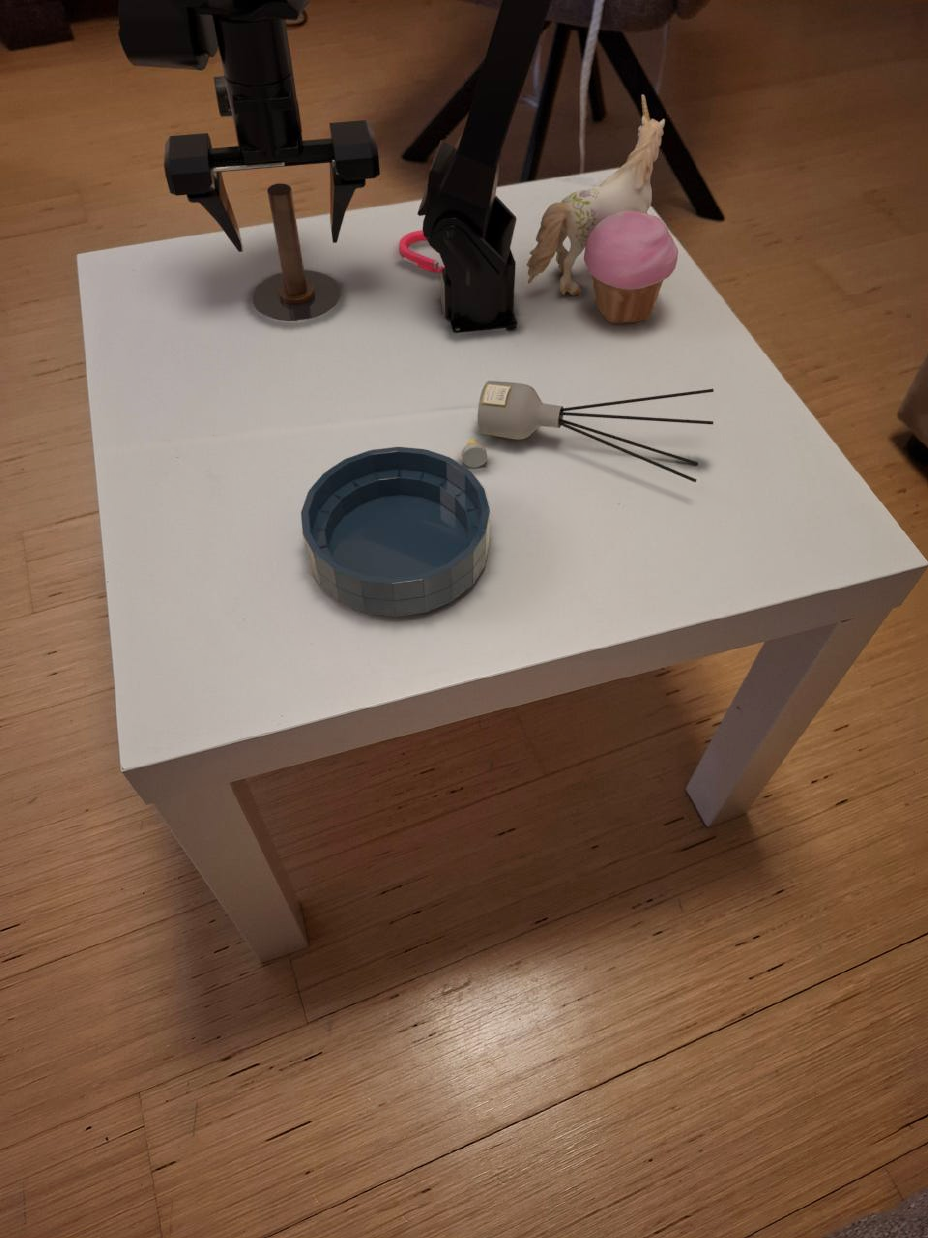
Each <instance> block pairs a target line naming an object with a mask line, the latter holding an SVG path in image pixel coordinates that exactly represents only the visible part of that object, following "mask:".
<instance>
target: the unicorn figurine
mask: <svg viewBox="0 0 928 1238" xmlns="http://www.w3.org/2000/svg"><path fill="white" fill-rule="evenodd" d="M640 96H641V109H642V111H641V112H642V116H641V125H639V126H638V129H637V131H638V132H637V143H636V145H635V148H634V149H633V150H632V151H631V152H630V154H629V155H628V157H627V160H626V162H625V163H624V164H622V165H621V166H620V167H619V168H618V169H617V170H616V171H615V172H614V173H612V174H611V175H609V176H608V177H606V179H604V180H603V181H602V182H601V183H600V184H599V186H598V187H597V186H596V187H592V188H587V189H581V190H577V191H574V192H572V193H570V194H568V195H567V196H565V198H563V199H562V200H561V201H559V202H554V203H552V204H550V205H549V206H548V207H547V208H546V210H545V211H544V213H543V215H542V216H541V221H540V227H539V229H538V231H537V234H536V236H535V241H536V243H537V245H536V246H535V247H534V248H532V249H531V250H529V253H528V254H529V255H530V257H529V259H528V260H527V262H526V267H527V268H528V270H527V276H528V279H527V284H529V285H530V284H531V283H532V282H533V281H534V279H535V278H536V277H537V276H539V275H540V274H542V273H544V272H545V271H546V270H547V268H548V267H549V265H550V264H551V261H552V259H553V258H554V257H555V262H556V263H557V269H559V270H560V272H562V273H563V274H562V275H561V276H560V278H559V291H560V292H561V295H565V294H566V292H567V293H569V294H570V296H572V297H575V296H578V295H580V294H581V287H580V286H579V285H578V283H576V282H574V281H573V278H572V268H573V266H574V264H575V263H576V260H577V258H578V257H579V256H580V255H581V254H582V253H583V251H584V250H585V246H586V242H587V239H588V237H589V235H590V233H591V232H592V230H593V229H594V228H595V226H596V225H597V224H598V223H599V222H601V221H602V220H603V219H605V218H606V217H608V216H610V215H613V214H616V213H618V212H621V211H626V210H631V211H638V212H642V213H646V214H649V213H648V211H649V209H650V208H651V205H652V201H653V198H652V197H653V191H652V186H651V176H652V173H653V170H654V166H653V165H654V162H656V161H657V159H658V158H659V152H660V147H661V145H662V136H664V133H665V132H664V127H665V123H666V119H665V118H662V119H661V120H660V121H658V120H656V119H654V118H651V117H650V113H649V109H648V105H647V100H646V99H647V98H646V95H645V94H641V95H640ZM566 238H568V239H569V243H570V247H569V250H567V248H566V246H565V245H564V241H565V240H566Z"/></svg>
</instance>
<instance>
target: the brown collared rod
mask: <svg viewBox="0 0 928 1238" xmlns="http://www.w3.org/2000/svg"><path fill="white" fill-rule="evenodd" d="M266 191H267V192H266V193H267V197H268V203H269V209H270V213H271V220H272V224H273V225H272V226H273V231H274V235H275V236H274V237H275V241H276V246H277V253H278V257H279V258H278V259H279V264H280V269H281V273H282V275H283V280H284V283H283V284H282V285H281V286H280V288H279V291H278V292H279V297H280V299H281V300H282V301H283V302H285V303H287V304H292V305H298V304H303V303H306V302H308V301H310V300H311V299H312V298H313V297H314V294H315V292H314V286H313V285H312V284H311V283H310V282H308V281H306V279H305V273H304V270H305V267H304V261H303V254H302V247H301V243H300V236H299V229H298V223H297V217H296V210H295V204H294V197H293V191H292V187H291V186H290V185H289V184H287V183H279V182H278V183H274V184H272V185H269V187H267V190H266Z"/></svg>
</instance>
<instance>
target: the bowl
mask: <svg viewBox="0 0 928 1238" xmlns="http://www.w3.org/2000/svg"><path fill="white" fill-rule="evenodd" d="M306 494H307V495H306V497H305V500H304V502H303V505H302V508H301V511H300V519H301V520H300V521H301V531H302V537H303V540H304V542H303V543H304V546H305V551H306V557H307V561H308V565H309V568H310V570H311V572H312V574H313V576H314V578H315V579H316V581H317V583H318V584H319V586H320V588H321V589H323V590H324V591H325V592H326V593H327V594H328V595H330V596H331V597H332V598H333V599H335V600H336V601H337V602H338V603H340V604H341V605H344V606H346V607H349V608H352V609H354V610H356V611H358V612H361V613H364V614H366V615H373V616H384V617H393V618H395V617H396V618H397V617H398V618H399V617H406V616H413V615H420V614H421V615H422V614H426V613H429V612H431V611H434V610H436V609H438V608H441V607H443V606H446V605H448V604H450V603H453V601H455V600H456V599H457V598H459V597H460V596H461V595H462V594H463V593H465V592H466V591H467V590H469V589H470V588H471V587H472V586H473V585H474V584H475V583H476V581H477V580H478V579H479V576H480V575H481V573H482V572H483V570H484V568H485V567H486V564H487V559H488V552H489V546H490V532H491V531H490V525H491V520H490V519H491V509H490V505H489V501H488V496H487V492H486V490H485V488H484V486H483V485H482V483H481V482H480V481H479V480H478V478H477V477H476V476H475V475H474V473H473V471H471V470H469V469H468V468H467V467H465V466H464V465H463V464H461V463H459V462H458V461H456V460H455V459H453V458H452V457H450V456H448V455H444V454H441V453H438V452H435V451H432V450H429V449H425V448H419V447H417V448H416V447H407V446H406V447H405V446H392V447H383V448H376V449H369V450H366V451H364V452H361V453H358V454H355V455H352V456H349V457H347V458H344V459H342V460H341V461H339V462H338V463H337V464H335V465H333V466H332V467H330V468H329V469H327V470H326V471H324V472H323V473H322V474H321V475H320V477H319V478H318V479H317V480H316V481H315V483H313V485H312V486H311V487H310V488H309V490H308V492H307V493H306Z"/></svg>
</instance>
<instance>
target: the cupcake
mask: <svg viewBox="0 0 928 1238" xmlns="http://www.w3.org/2000/svg"><path fill="white" fill-rule="evenodd" d="M583 251H584V253H583V261H584V264H585V266H586V268H587V270H588V273H589V274H590V275H591V278H592V279H591V280H592V286H593V287H592V288H593V294H594V303H595V306H596V307H597V308H598V309H599V310H600V313H601V314H602V316H603V317H604V318H605V319H606V321H607V322H609V323H612V324H625V323H627V324H628V323H636V322H637V323H638V322H643V321H647V320H648V319H649V317H650V316H651V314H652V312H653V310H654V308H655V305H656V303H657V300H658V298H659V294H660V292H661V288H662V285H663V282H664V281H665V280H667V279H668V278H669V277H670V276H671V275H672V274H673V272H674V271H675V269H676V267H677V263H678V259H679V249H678V246H677V244H676V242H675V240H674V239H673V236H672V235H671V233H670V232H669V229H668V226H667V224H666V223H664V221H663V220H662V219H661V218H660V217H658V216H656V215H653V214H649V213H648V214H646V213H642V212H638V211H631V210H626V211H621V212H618V213H616V214H613V215H610V216H608V217H606V218H605V219H603V220H602V221H601V222H599V223H598V224H597V225H596V226H595V228H594V229H593V230H592V232H591V233H590V235H589V237H588V239H587V242H586V246H585V248H584V250H583Z"/></svg>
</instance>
